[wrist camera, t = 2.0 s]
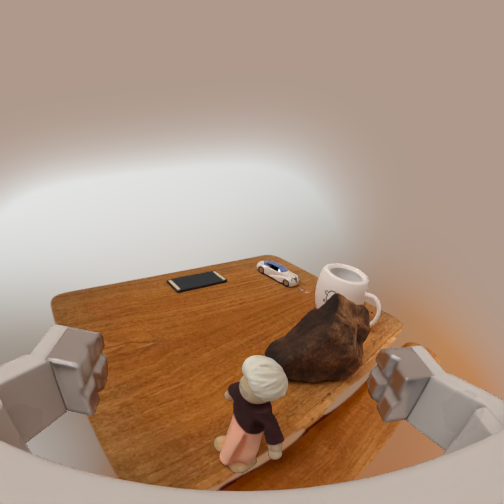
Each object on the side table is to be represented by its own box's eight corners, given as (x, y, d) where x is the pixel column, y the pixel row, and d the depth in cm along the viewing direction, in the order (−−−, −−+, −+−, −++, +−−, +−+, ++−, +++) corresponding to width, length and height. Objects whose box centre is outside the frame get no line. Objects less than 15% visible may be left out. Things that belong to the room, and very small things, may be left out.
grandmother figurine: (195, 439, 25) (206, 339, 20) (227, 422, 27) (248, 323, 23) (250, 495, 20) (290, 413, 15) (281, 473, 22) (330, 384, 18)
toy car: (303, 296, 55) (307, 283, 54) (254, 269, 62) (256, 257, 61) (313, 290, 58) (317, 278, 57) (265, 266, 65) (267, 254, 64)
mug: (299, 309, 51) (311, 266, 48) (326, 296, 57) (338, 257, 54) (360, 345, 43) (378, 301, 40) (381, 326, 49) (397, 286, 46)
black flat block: (177, 292, 49) (177, 290, 49) (166, 281, 51) (166, 279, 51) (226, 281, 55) (227, 279, 55) (214, 272, 58) (215, 270, 58)
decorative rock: (345, 357, 40) (372, 291, 36) (358, 388, 34) (393, 318, 31) (260, 354, 39) (278, 281, 35) (265, 388, 33) (288, 310, 29)
